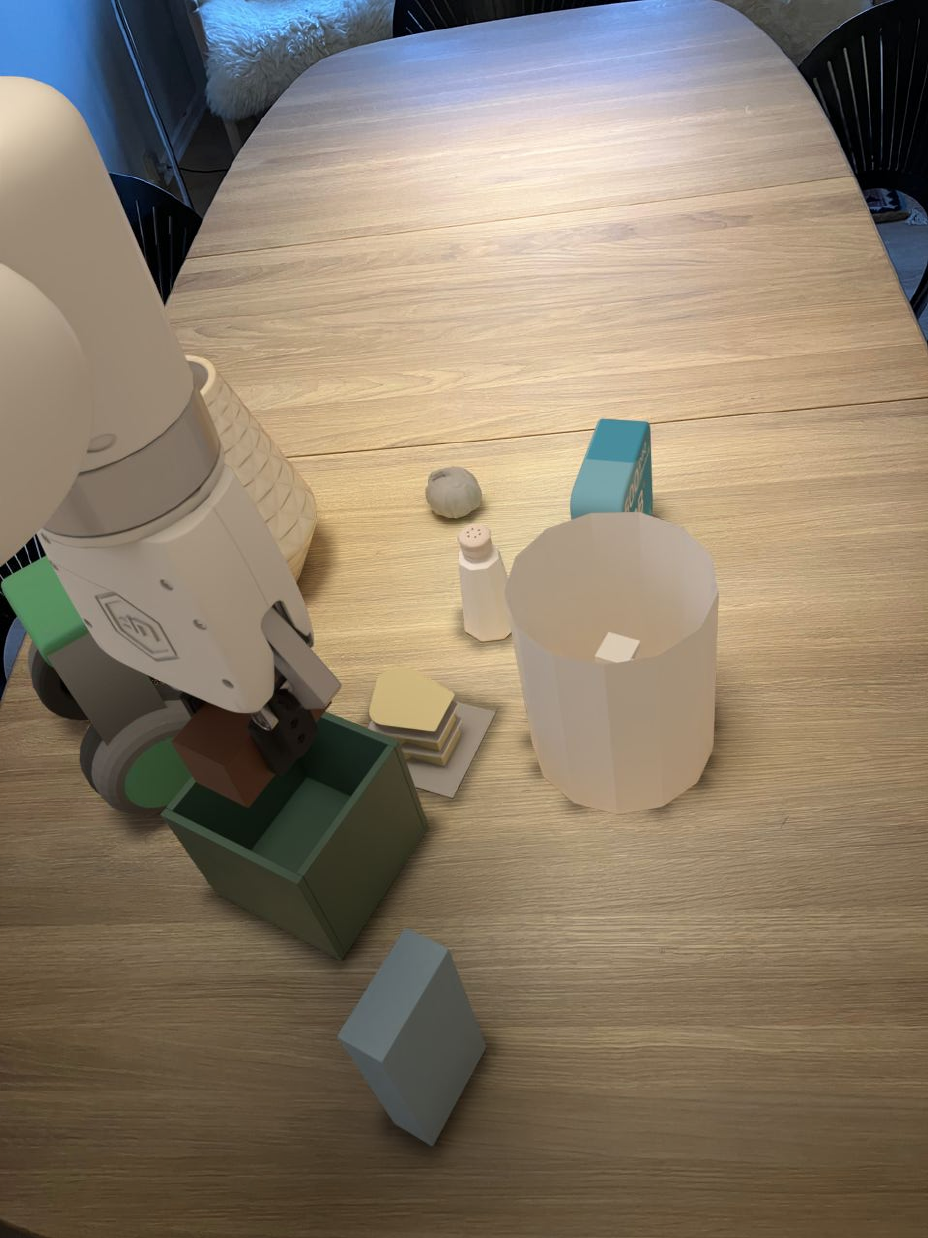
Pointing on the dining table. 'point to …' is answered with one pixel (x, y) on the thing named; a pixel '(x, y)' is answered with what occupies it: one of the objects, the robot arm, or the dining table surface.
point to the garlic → (453, 492)
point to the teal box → (615, 470)
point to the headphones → (100, 698)
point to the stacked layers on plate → (428, 727)
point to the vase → (259, 466)
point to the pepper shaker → (482, 585)
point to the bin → (310, 835)
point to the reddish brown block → (225, 752)
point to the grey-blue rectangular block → (415, 1035)
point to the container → (617, 657)
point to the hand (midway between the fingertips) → (261, 735)
